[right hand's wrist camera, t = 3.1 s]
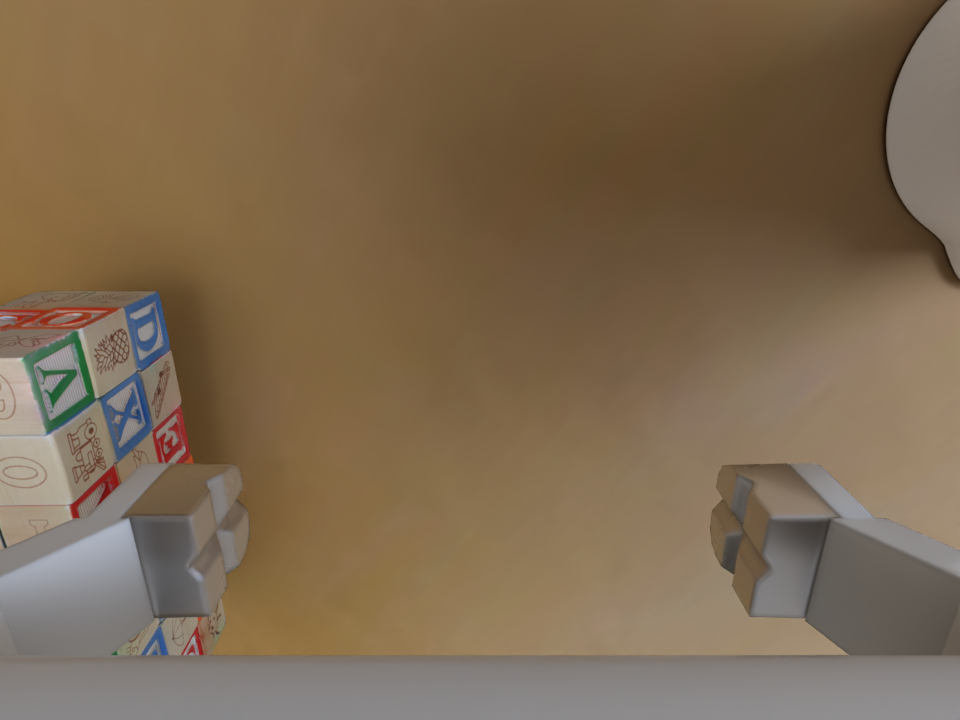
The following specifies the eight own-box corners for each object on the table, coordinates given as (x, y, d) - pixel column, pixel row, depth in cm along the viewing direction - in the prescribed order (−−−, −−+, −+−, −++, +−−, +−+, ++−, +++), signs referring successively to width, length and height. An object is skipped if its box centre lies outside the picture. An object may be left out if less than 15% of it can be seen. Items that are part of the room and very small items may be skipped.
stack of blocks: (33, 288, 29) (-257, 392, 18) (162, 287, 29) (-44, 392, 18) (128, 625, 37) (-30, 849, 25) (229, 624, 37) (117, 849, 25)
